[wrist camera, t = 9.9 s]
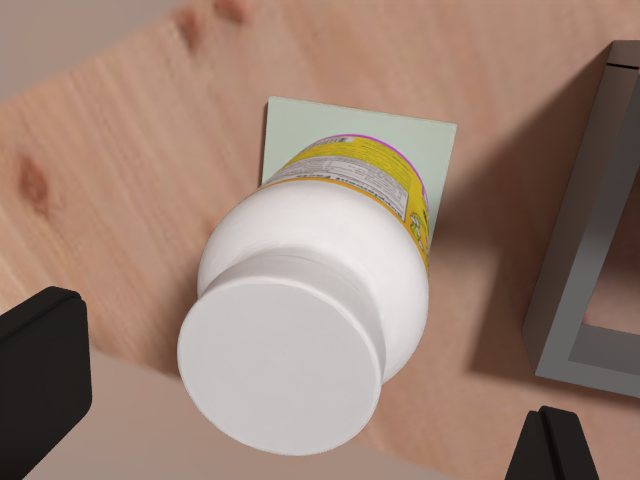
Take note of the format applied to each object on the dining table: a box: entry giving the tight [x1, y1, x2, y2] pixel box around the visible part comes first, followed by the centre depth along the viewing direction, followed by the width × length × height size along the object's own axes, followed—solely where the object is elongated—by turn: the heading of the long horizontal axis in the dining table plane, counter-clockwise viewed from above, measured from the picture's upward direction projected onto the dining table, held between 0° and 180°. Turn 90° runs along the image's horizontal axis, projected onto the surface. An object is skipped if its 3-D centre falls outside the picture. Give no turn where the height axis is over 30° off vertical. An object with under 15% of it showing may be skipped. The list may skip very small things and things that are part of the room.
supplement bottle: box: [177, 133, 429, 456], centre depth 17 cm, size 7×7×13 cm
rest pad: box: [262, 96, 457, 250], centre depth 23 cm, size 8×8×1 cm
